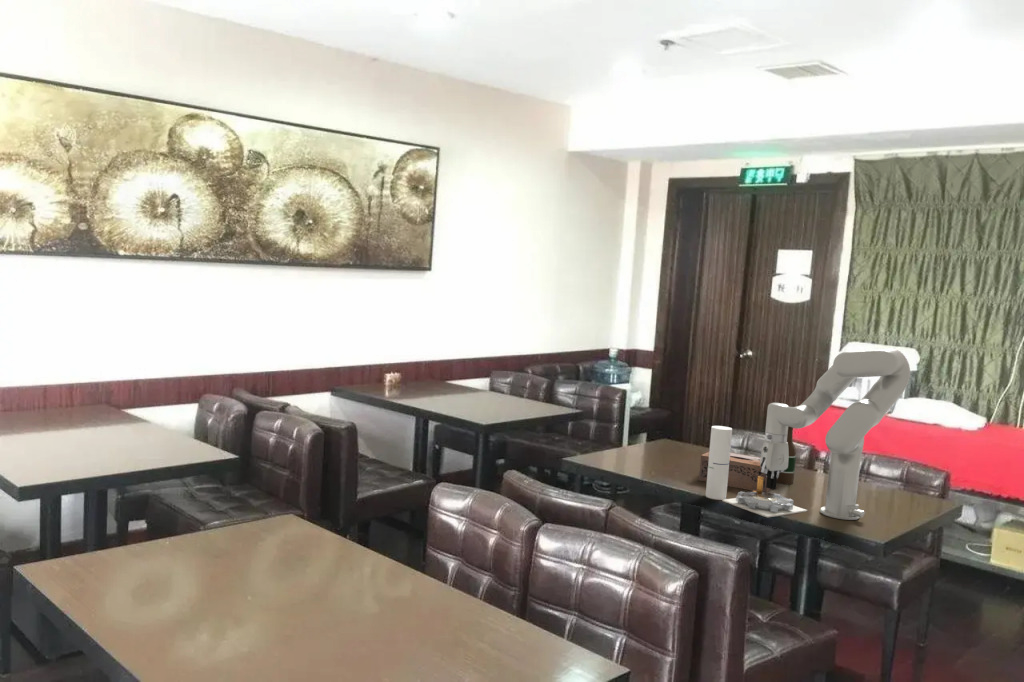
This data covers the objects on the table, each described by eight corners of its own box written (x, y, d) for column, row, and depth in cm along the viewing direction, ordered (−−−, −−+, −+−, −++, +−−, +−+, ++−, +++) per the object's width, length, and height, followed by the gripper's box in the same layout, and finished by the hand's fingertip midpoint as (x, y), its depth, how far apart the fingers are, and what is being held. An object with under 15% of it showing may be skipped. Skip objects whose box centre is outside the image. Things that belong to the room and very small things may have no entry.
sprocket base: (807, 511, 282) (807, 510, 282) (767, 517, 271) (767, 516, 271) (761, 495, 299) (761, 494, 299) (722, 501, 288) (722, 499, 288)
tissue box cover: (776, 486, 315) (778, 461, 315) (766, 493, 303) (768, 467, 302) (711, 474, 329) (713, 449, 328) (698, 480, 317) (701, 455, 316)
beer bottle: (771, 478, 327) (777, 419, 325) (792, 480, 326) (797, 420, 324) (773, 483, 320) (779, 422, 317) (794, 485, 318) (800, 424, 316)
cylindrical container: (722, 500, 288) (728, 430, 286) (702, 496, 292) (708, 427, 290) (728, 496, 294) (734, 428, 292) (709, 492, 298) (715, 424, 296)
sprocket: (802, 513, 276) (804, 490, 275) (745, 510, 275) (747, 486, 274) (781, 497, 295) (783, 475, 294) (728, 494, 294) (730, 472, 293)
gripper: (769, 441, 285) (764, 493, 287) (798, 439, 293) (793, 489, 295) (753, 436, 291) (748, 487, 293) (781, 434, 299) (777, 484, 301)
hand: (771, 488), depth 294 cm, fingers closed
